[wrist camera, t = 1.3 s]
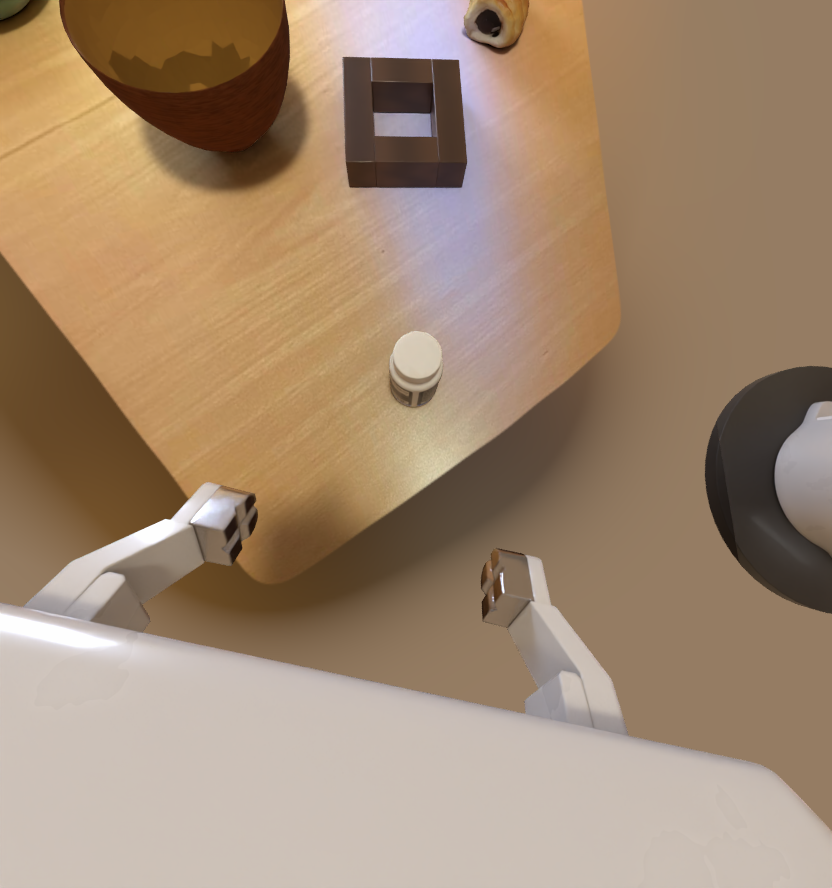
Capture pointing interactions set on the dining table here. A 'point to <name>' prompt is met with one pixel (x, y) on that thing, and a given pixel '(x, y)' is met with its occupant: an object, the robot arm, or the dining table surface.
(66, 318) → the dining table surface
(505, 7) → the pastry
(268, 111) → the bowl
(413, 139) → the dock
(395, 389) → the pill bottle
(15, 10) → the saucer
